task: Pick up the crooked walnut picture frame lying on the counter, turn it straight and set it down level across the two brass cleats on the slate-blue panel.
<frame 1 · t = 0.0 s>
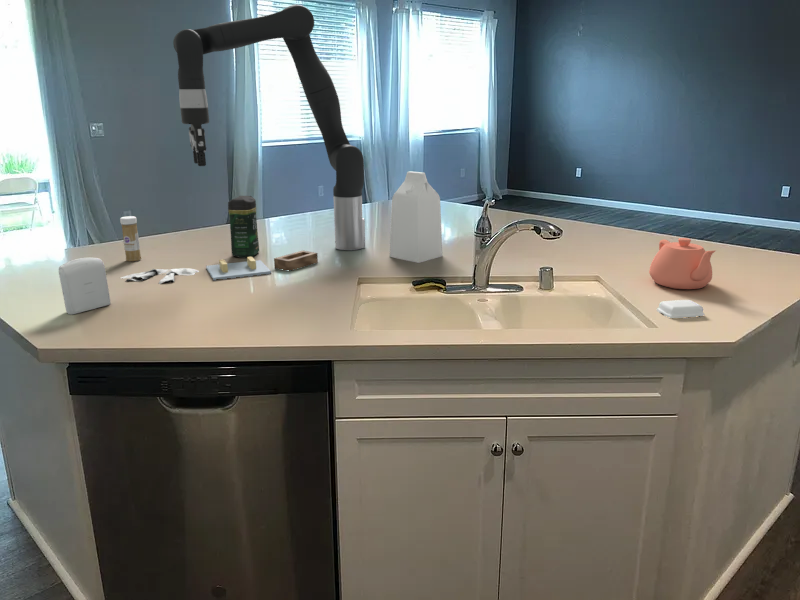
hand: (200, 164, 186), 29 cm above the worktop, tool pointing down, fingers open, 8 cm apart
sprinkles bottle: (134, 260, 199), on the worktop
frame: (296, 265, 191), on the worktop
cloth: (157, 280, 180), on the worktop
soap: (679, 315, 148), on the worktop
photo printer: (88, 309, 154), on the worktop
coffee jar: (246, 255, 204), on the worktop
milk: (416, 256, 201), on the worktop
teapot: (680, 285, 170), on the worktop
panel: (238, 271, 185), on the worktop
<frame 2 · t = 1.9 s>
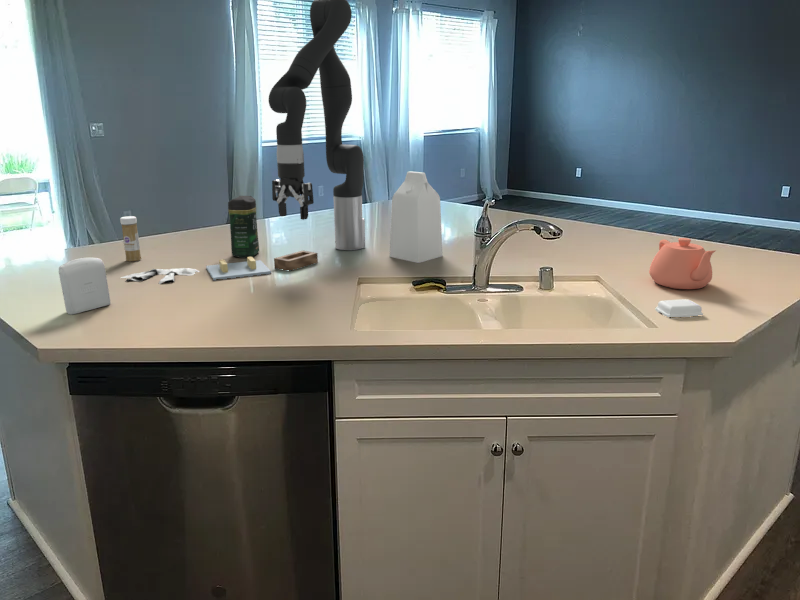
hand: (293, 217, 187), 14 cm above the worktop, tool pointing down, fingers open, 8 cm apart
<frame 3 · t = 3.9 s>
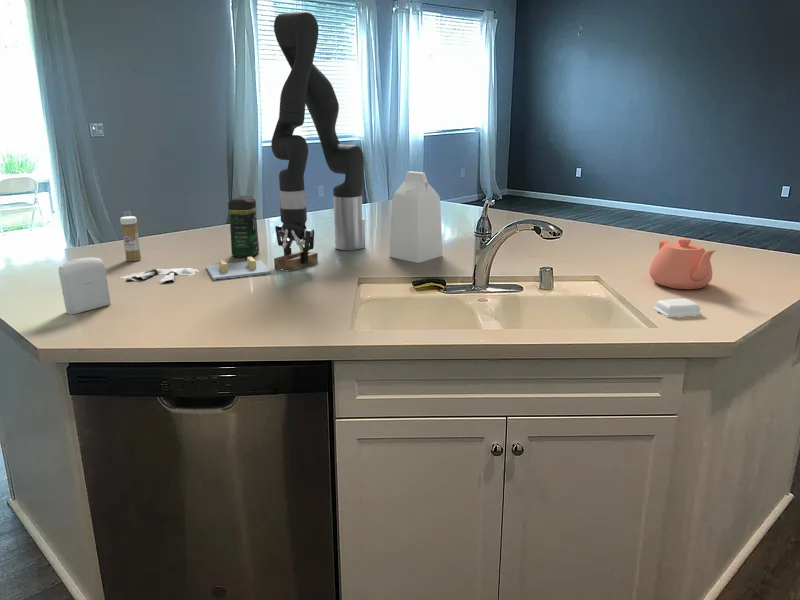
hand: (296, 261, 191), 1 cm above the worktop, tool pointing down, fingers closed on frame, 6 cm apart
frame: (296, 265, 191), on the worktop, touching gripper
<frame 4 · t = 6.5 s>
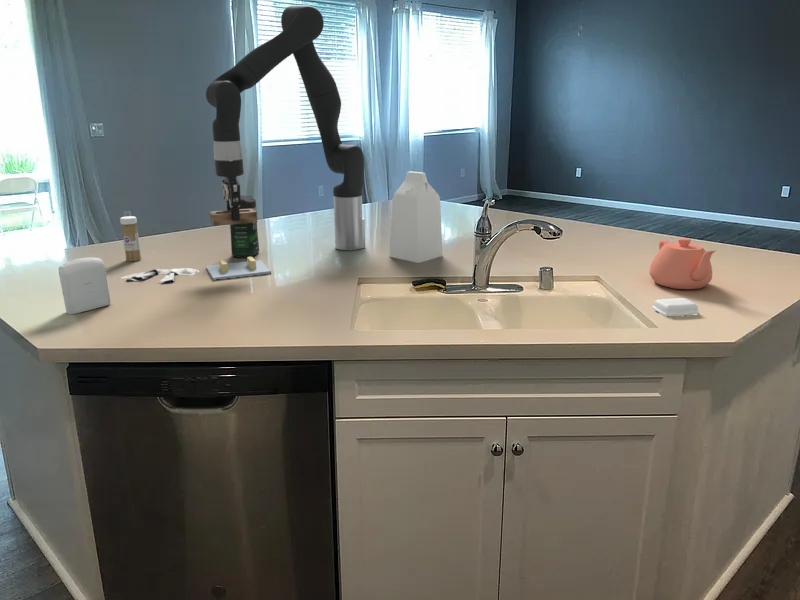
hand: (233, 218, 181), 15 cm above the worktop, tool pointing down, fingers closed on frame, 6 cm apart
frame: (233, 222, 181), point 14 cm above the worktop, touching gripper
when the fingers open (5 cm above the worktop, at t = 9.2 s): frame drops 1 cm, resting on panel.
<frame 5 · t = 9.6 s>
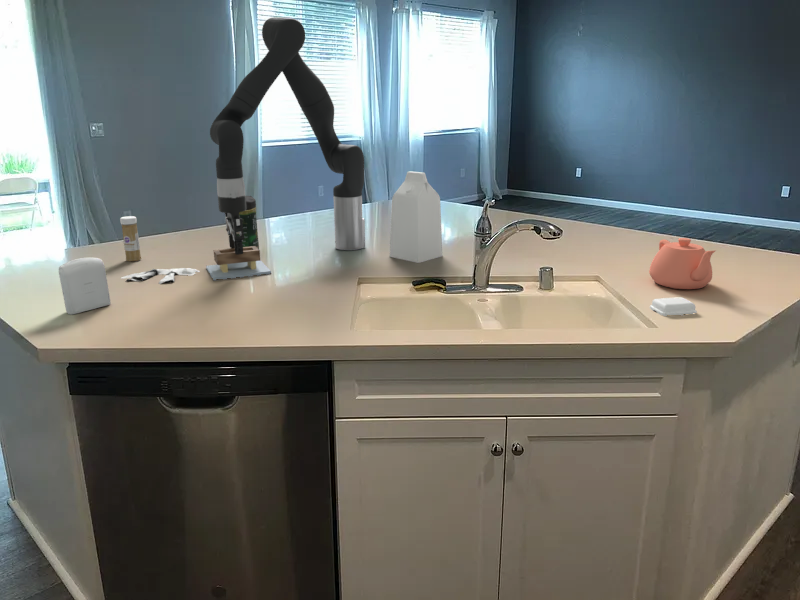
hand: (236, 250, 184), 6 cm above the worktop, tool pointing down, fingers open, 8 cm apart
frame: (237, 260, 184), point 3 cm above the worktop, touching panel
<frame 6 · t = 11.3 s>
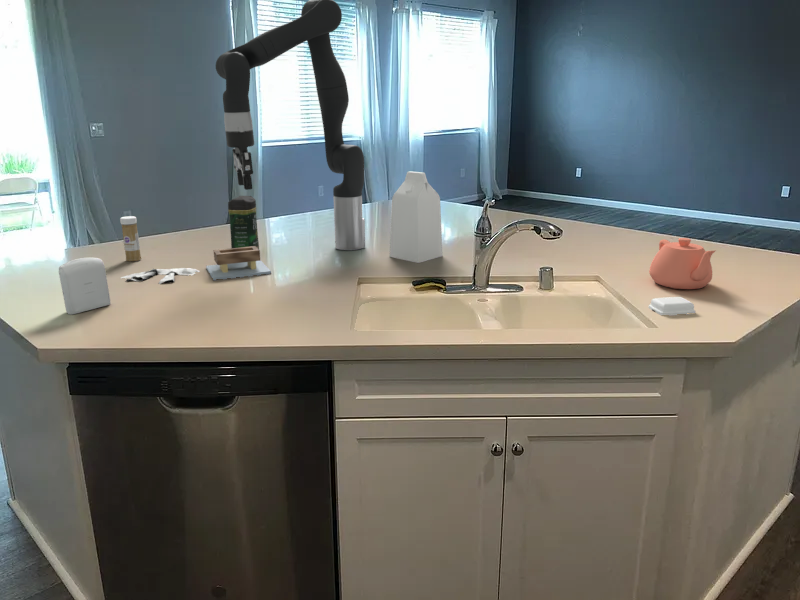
hand: (245, 187, 184), 23 cm above the worktop, tool pointing down, fingers open, 8 cm apart
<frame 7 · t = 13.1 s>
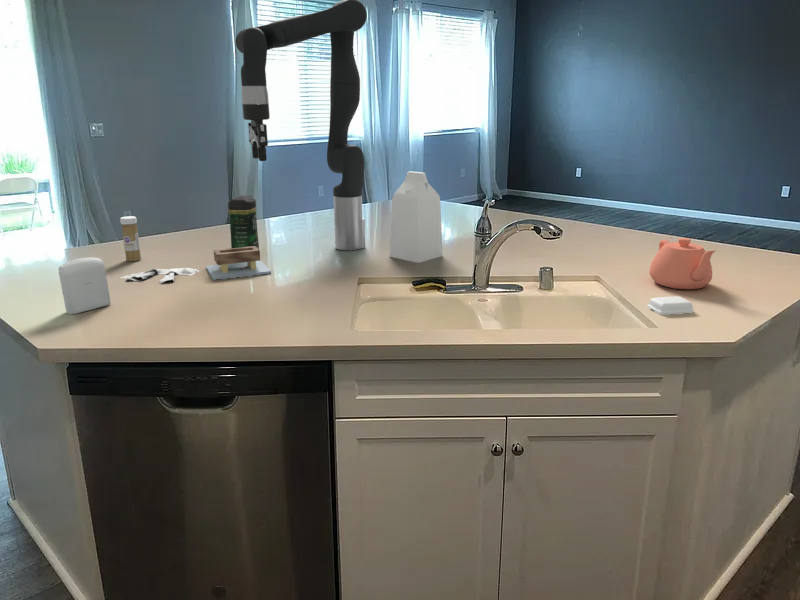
hand: (259, 159, 191), 30 cm above the worktop, tool pointing down, fingers open, 8 cm apart
at the end: frame 0.0 cm off-centre on the panel, point 3.2 cm above the panel's base; frame tilted 0°; the gripper is holding nothing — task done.
